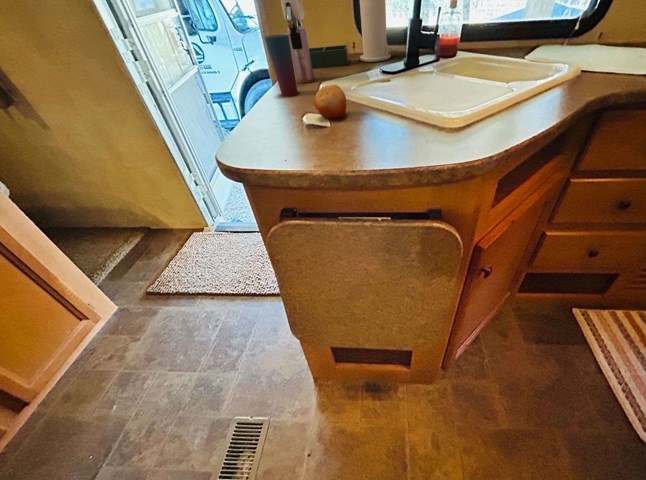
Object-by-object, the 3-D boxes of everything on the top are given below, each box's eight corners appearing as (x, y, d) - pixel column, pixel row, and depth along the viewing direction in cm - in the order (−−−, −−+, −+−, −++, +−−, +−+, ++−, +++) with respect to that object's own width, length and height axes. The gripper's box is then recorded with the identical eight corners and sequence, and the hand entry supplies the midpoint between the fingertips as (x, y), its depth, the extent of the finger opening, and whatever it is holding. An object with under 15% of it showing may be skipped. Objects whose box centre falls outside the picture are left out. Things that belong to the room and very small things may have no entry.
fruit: (353, 103, 83) (345, 78, 75) (347, 129, 81) (338, 105, 74) (325, 103, 85) (315, 78, 77) (319, 128, 83) (307, 105, 76)
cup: (298, 96, 97) (285, 36, 86) (277, 98, 97) (261, 38, 87) (302, 90, 102) (290, 32, 91) (281, 91, 102) (267, 34, 92)
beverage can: (315, 78, 112) (306, 25, 101) (313, 82, 108) (303, 27, 97) (298, 79, 112) (287, 26, 102) (296, 84, 108) (284, 29, 97)
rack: (348, 60, 130) (347, 44, 126) (347, 65, 123) (345, 49, 119) (306, 64, 130) (303, 48, 127) (303, 69, 124) (300, 53, 120)
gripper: (292, -31, 84) (306, 51, 97) (302, -31, 96) (314, 41, 109) (265, -28, 84) (283, 53, 97) (278, -29, 97) (292, 43, 109)
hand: (299, 46), depth 103 cm, fingers closed on beverage can, 6 cm apart
